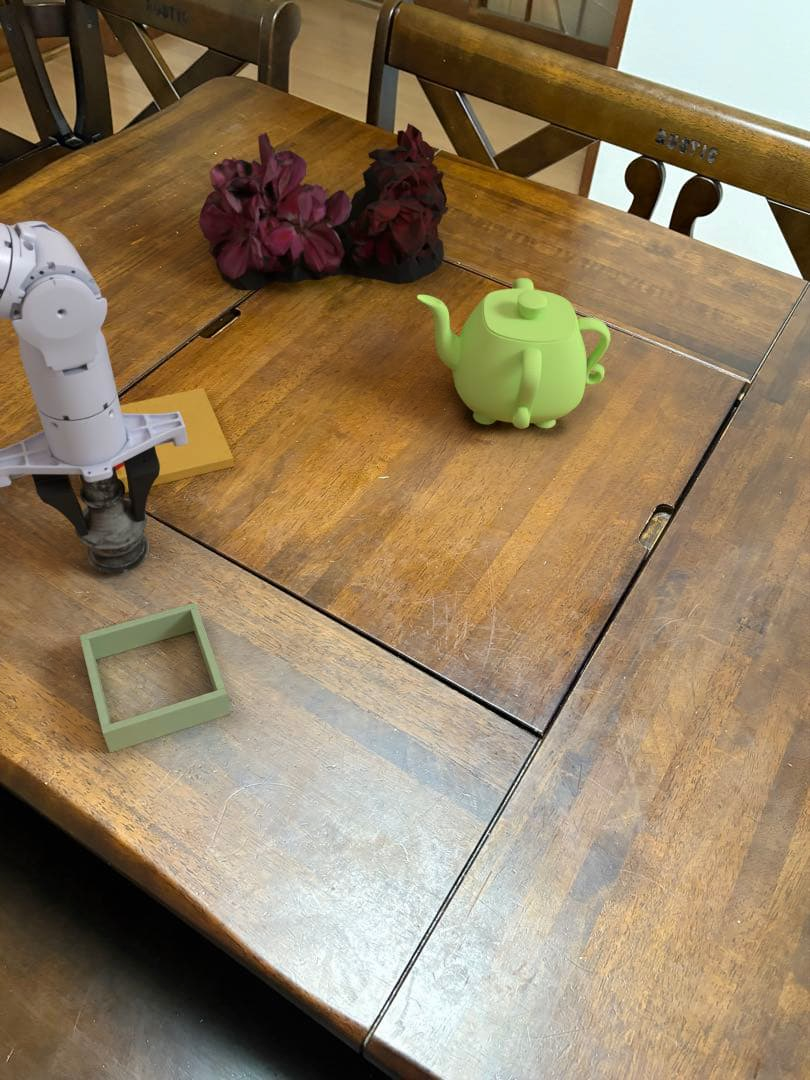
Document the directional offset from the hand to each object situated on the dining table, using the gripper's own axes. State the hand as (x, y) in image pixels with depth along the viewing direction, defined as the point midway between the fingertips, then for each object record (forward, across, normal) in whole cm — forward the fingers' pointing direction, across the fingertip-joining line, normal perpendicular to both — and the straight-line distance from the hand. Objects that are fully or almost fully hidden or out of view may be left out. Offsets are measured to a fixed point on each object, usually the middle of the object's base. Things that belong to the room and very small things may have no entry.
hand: (110, 520), depth 77 cm
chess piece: (+4, 0, 0) cm, 4 cm away
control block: (+5, +6, +13) cm, 15 cm away
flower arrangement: (+5, +34, +39) cm, 52 cm away
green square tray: (+5, 0, -14) cm, 15 cm away
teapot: (+5, +42, +8) cm, 43 cm away
